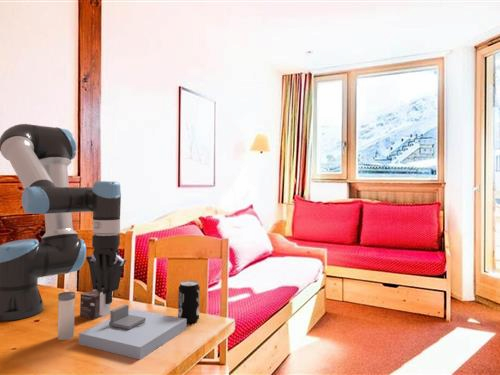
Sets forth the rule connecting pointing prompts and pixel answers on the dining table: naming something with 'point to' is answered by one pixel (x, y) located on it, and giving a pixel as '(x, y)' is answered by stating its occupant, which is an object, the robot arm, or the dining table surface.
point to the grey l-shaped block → (124, 318)
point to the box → (90, 305)
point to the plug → (66, 315)
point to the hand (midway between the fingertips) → (104, 314)
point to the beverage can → (188, 301)
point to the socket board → (134, 334)
